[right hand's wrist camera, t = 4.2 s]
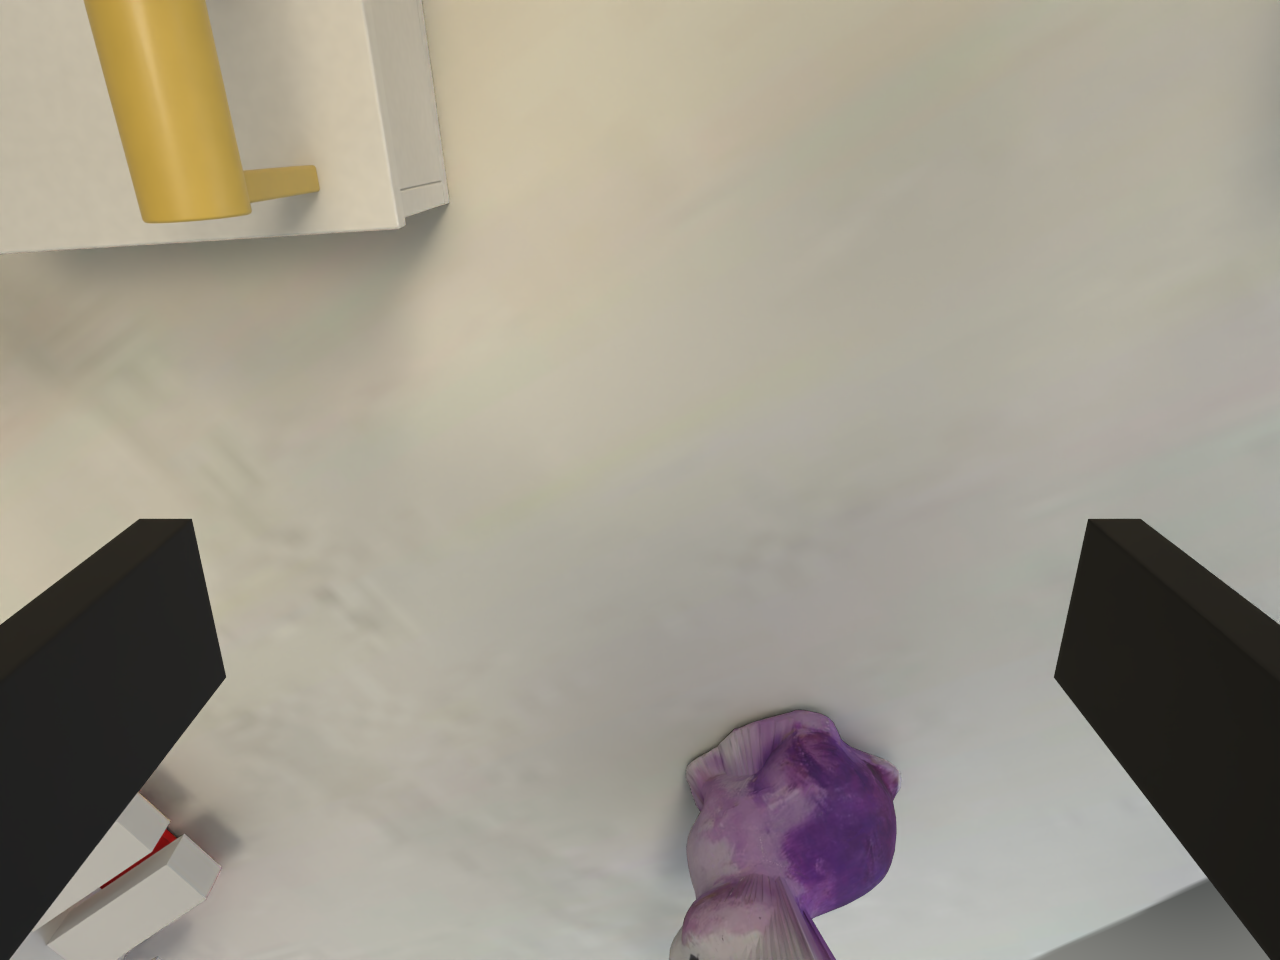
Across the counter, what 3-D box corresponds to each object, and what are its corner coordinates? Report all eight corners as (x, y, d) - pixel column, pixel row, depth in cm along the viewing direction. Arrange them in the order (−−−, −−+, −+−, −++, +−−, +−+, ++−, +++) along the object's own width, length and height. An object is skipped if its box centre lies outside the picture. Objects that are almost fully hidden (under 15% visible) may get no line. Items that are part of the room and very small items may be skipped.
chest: (411, -75, 31) (309, -169, 21) (450, 202, 34) (377, 228, 25) (21, -47, 31) (-249, -127, 22) (100, 225, 35) (-103, 258, 25)
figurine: (646, 809, 46) (648, 1103, 32) (749, 671, 42) (801, 932, 28) (792, 875, 47) (853, 1182, 34) (902, 748, 44) (1021, 1029, 30)
